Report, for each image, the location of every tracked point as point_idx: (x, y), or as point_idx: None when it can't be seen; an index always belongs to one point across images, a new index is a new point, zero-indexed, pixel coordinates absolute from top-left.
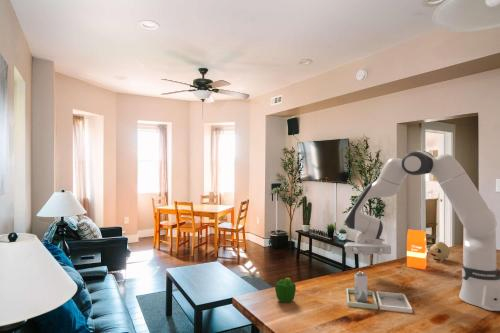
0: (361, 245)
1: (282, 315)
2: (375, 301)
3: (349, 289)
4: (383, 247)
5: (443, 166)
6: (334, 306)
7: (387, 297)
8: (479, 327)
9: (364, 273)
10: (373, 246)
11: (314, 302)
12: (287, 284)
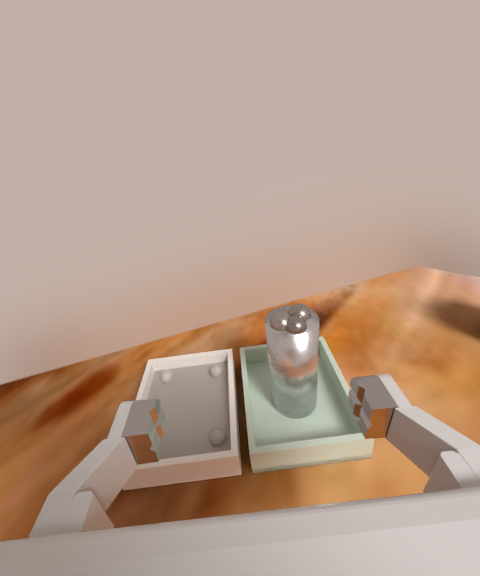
0: (392, 523)
1: (441, 291)
2: (244, 365)
3: (357, 434)
4: (12, 541)
5: None
6: (364, 357)
7: (194, 450)
8: (13, 383)
9: (276, 313)
10: (174, 524)
11: (433, 358)
12: None
